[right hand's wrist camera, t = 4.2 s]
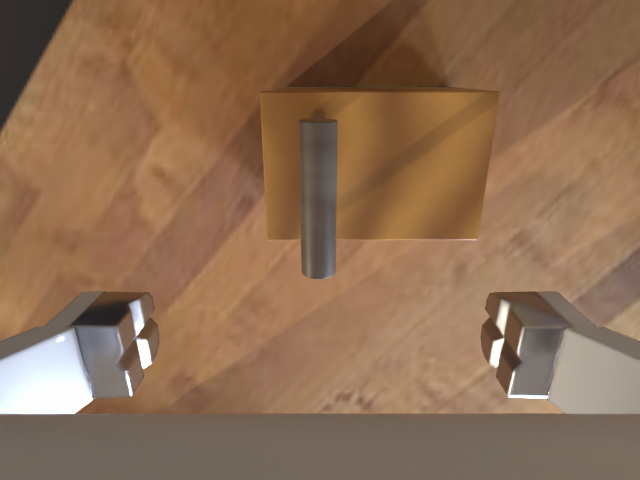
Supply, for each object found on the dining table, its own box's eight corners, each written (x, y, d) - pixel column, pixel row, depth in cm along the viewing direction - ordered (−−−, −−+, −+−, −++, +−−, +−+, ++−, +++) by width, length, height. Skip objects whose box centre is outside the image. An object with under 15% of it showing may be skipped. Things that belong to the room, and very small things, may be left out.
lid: (268, 235, 28) (249, 296, 20) (261, 91, 25) (234, 98, 17) (473, 235, 28) (531, 296, 20) (494, 90, 25) (574, 97, 17)
